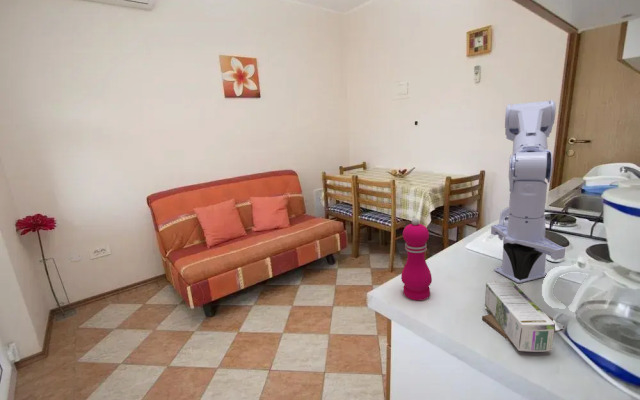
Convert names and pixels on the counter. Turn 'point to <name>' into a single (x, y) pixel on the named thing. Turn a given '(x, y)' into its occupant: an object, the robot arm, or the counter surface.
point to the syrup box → (519, 317)
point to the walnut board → (497, 325)
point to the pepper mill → (416, 262)
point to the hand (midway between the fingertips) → (520, 277)
